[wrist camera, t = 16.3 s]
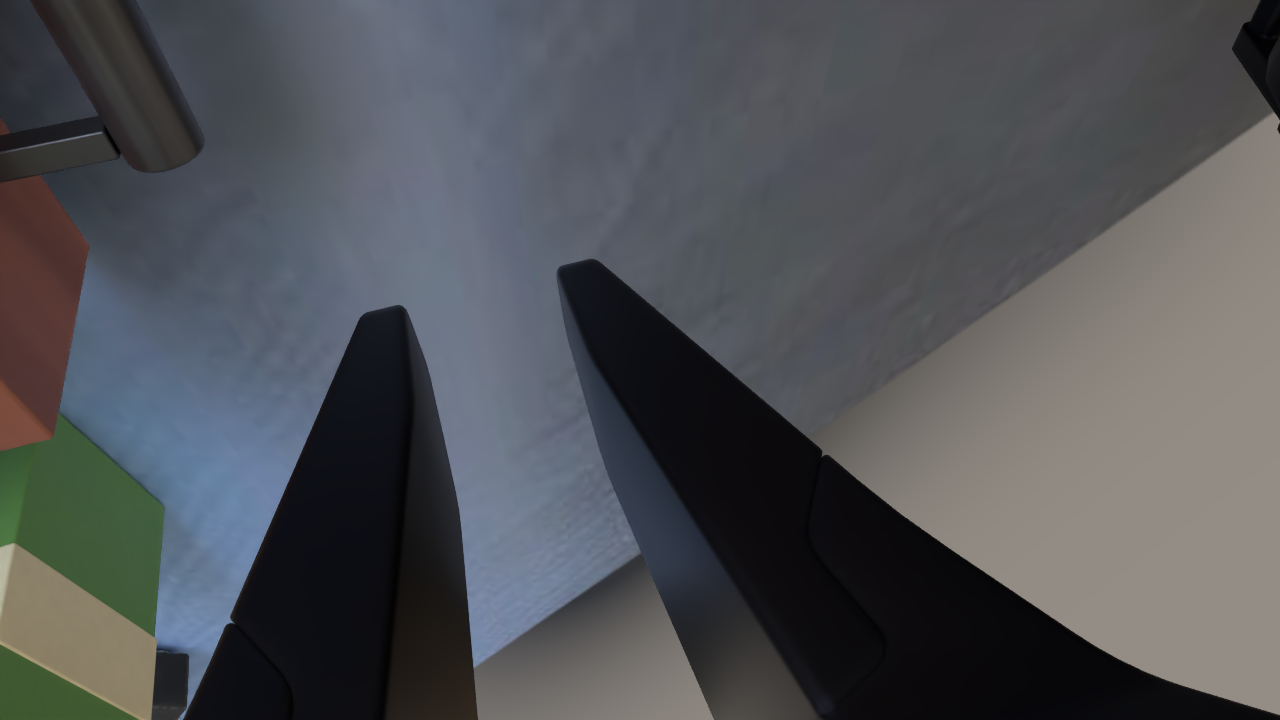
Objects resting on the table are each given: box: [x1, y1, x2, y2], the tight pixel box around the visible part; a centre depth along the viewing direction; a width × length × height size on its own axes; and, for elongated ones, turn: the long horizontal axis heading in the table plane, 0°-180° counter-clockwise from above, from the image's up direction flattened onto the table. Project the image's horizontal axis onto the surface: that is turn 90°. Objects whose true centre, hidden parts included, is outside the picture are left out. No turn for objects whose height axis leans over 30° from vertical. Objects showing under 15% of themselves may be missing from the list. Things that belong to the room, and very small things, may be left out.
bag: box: [0, 413, 165, 720], centre depth 23 cm, size 4×6×11 cm
